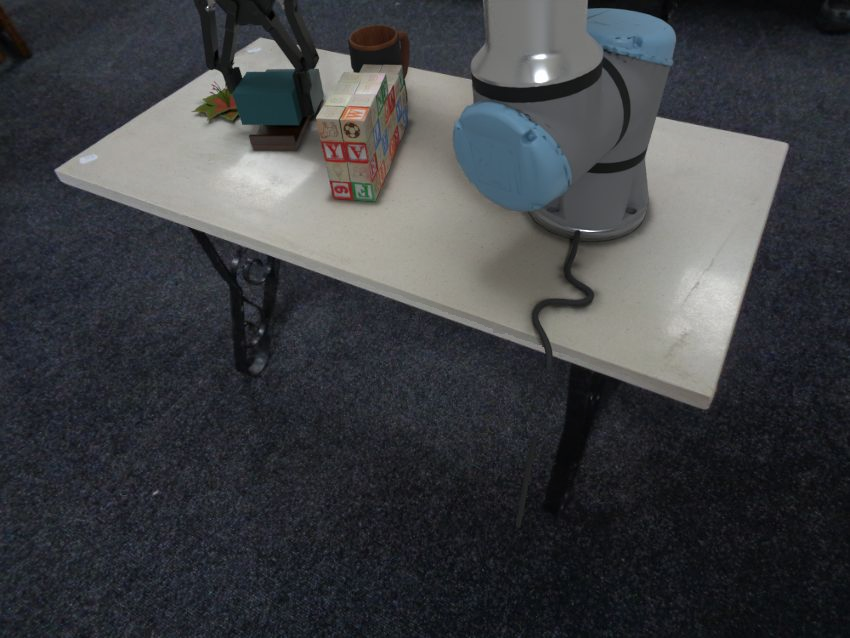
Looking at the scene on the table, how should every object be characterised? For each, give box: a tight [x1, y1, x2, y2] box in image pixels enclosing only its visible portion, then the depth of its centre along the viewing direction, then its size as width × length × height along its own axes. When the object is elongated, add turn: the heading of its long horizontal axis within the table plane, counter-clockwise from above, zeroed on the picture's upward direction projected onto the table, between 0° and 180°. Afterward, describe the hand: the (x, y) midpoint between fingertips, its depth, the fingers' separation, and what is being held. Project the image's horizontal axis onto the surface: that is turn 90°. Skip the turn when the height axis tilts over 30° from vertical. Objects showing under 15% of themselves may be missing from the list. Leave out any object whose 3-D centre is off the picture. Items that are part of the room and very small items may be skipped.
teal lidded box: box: [248, 68, 325, 152], centre depth 90 cm, size 17×9×6 cm, turn 174°
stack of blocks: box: [315, 64, 409, 202], centre depth 79 cm, size 21×6×12 cm, turn 169°
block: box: [232, 71, 309, 126], centre depth 85 cm, size 7×9×5 cm
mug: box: [347, 24, 411, 104], centre depth 90 cm, size 9×12×12 cm
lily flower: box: [191, 80, 239, 122], centre depth 95 cm, size 12×12×5 cm
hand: (276, 112), depth 87 cm, fingers closed on block, 9 cm apart
